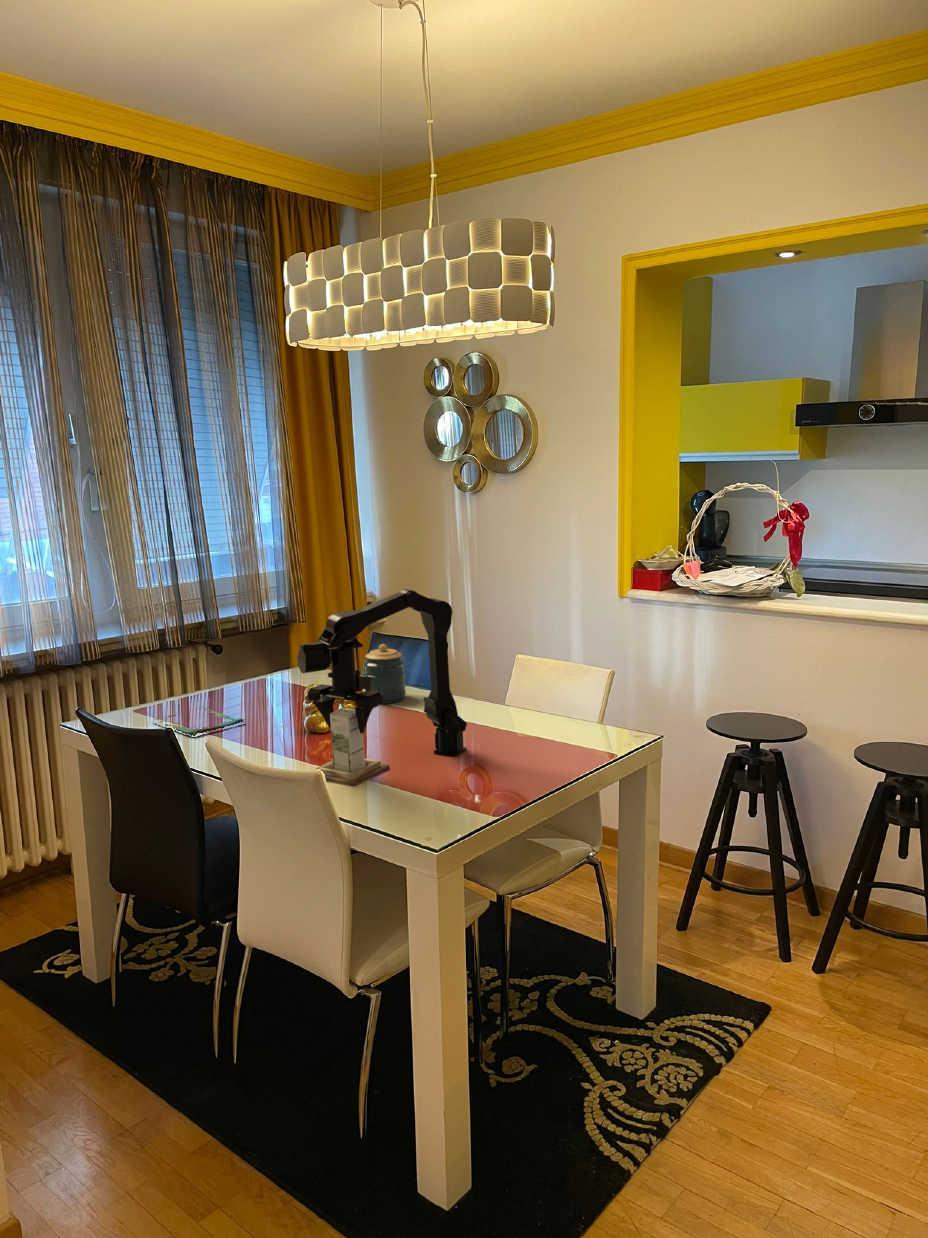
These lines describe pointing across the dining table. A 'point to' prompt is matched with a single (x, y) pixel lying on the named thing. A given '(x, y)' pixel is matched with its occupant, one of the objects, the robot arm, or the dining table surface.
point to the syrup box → (346, 741)
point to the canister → (386, 673)
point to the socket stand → (356, 777)
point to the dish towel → (204, 729)
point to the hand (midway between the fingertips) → (346, 730)
